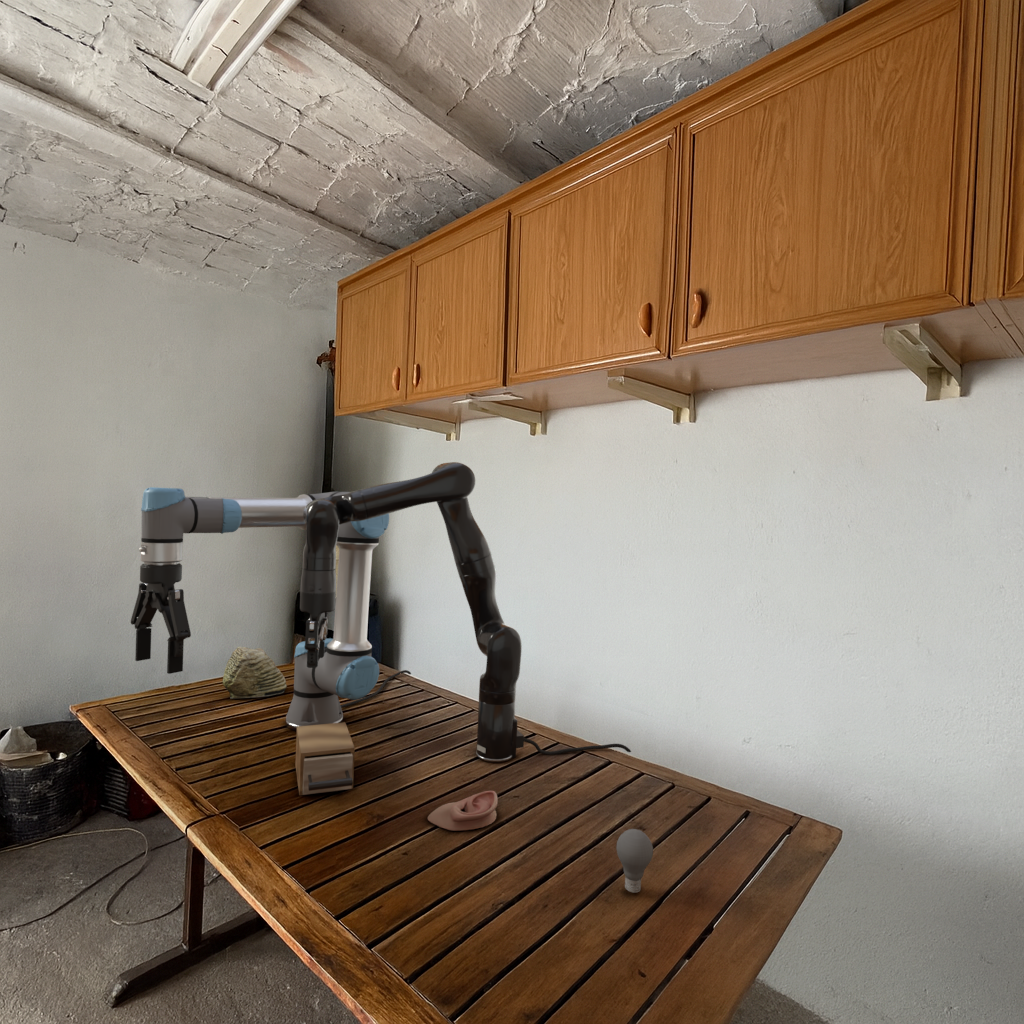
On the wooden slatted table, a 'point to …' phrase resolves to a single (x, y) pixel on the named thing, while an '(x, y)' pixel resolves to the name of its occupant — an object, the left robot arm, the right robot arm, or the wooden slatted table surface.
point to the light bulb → (634, 857)
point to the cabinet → (321, 744)
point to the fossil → (252, 674)
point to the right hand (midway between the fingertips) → (315, 662)
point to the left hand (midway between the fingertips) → (158, 665)
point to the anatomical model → (467, 812)
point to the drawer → (327, 773)
